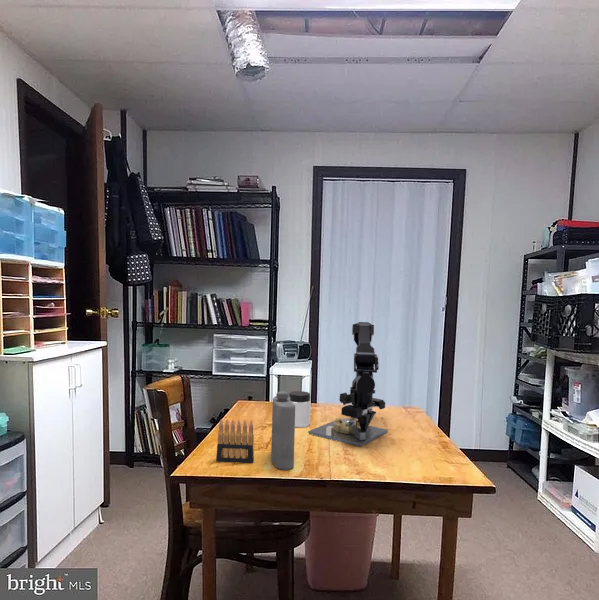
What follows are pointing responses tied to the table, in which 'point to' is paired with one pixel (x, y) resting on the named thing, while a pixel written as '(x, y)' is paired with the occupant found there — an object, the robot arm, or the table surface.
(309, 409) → the jar
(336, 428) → the ring nut
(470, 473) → the table surface
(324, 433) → the cap plate
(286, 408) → the flask
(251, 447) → the ammunition clip
